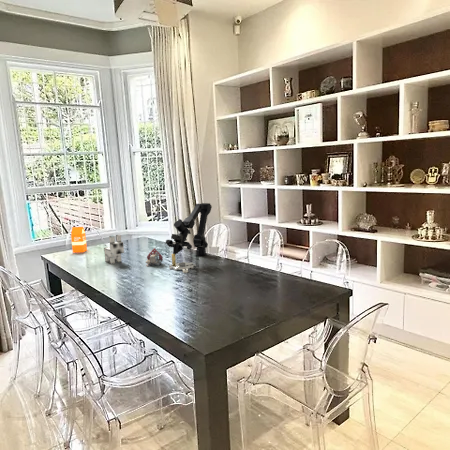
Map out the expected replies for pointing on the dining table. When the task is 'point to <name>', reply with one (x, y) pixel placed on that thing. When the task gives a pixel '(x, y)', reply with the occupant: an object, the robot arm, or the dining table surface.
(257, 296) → the dining table surface
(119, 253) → the toy llama
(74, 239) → the orange juice
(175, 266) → the sprocket
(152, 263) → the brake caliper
